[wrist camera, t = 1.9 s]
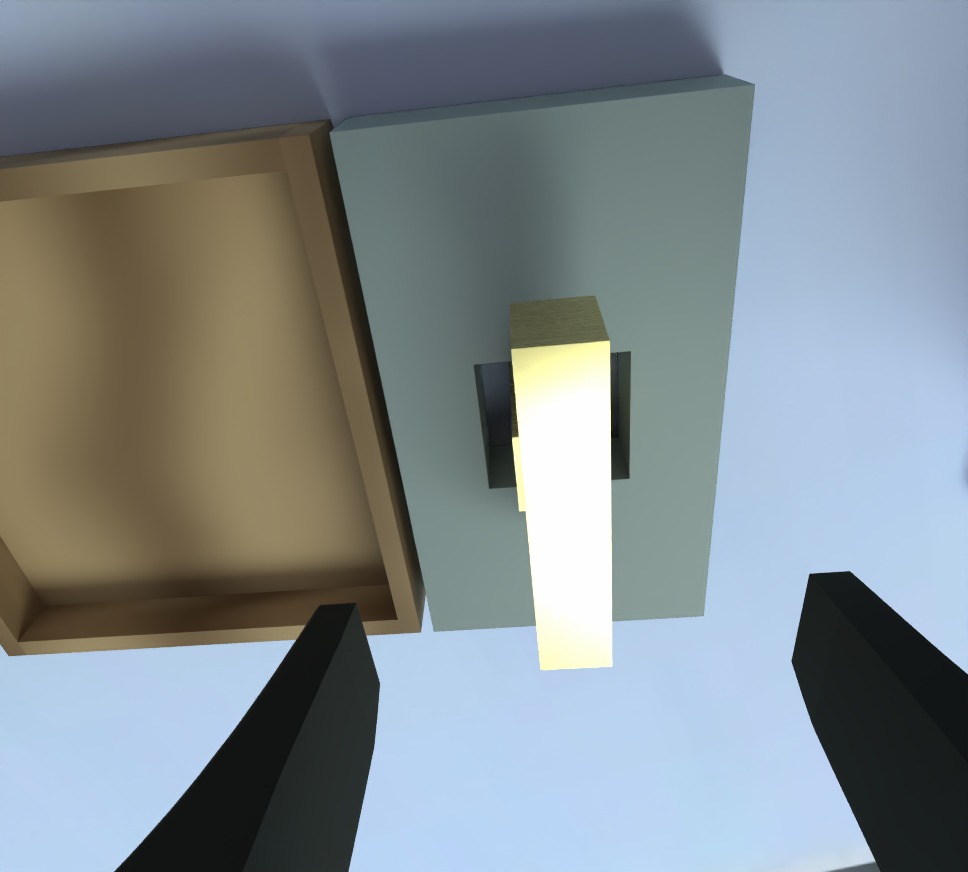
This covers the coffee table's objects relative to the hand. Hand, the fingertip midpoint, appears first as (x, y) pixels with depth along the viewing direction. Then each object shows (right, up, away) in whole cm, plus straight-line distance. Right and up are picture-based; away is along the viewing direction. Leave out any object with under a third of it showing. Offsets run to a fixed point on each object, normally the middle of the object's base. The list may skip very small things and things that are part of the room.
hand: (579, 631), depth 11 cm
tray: (-11, +4, +8) cm, 14 cm away
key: (0, +5, +7) cm, 9 cm away
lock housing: (0, +5, +7) cm, 8 cm away
